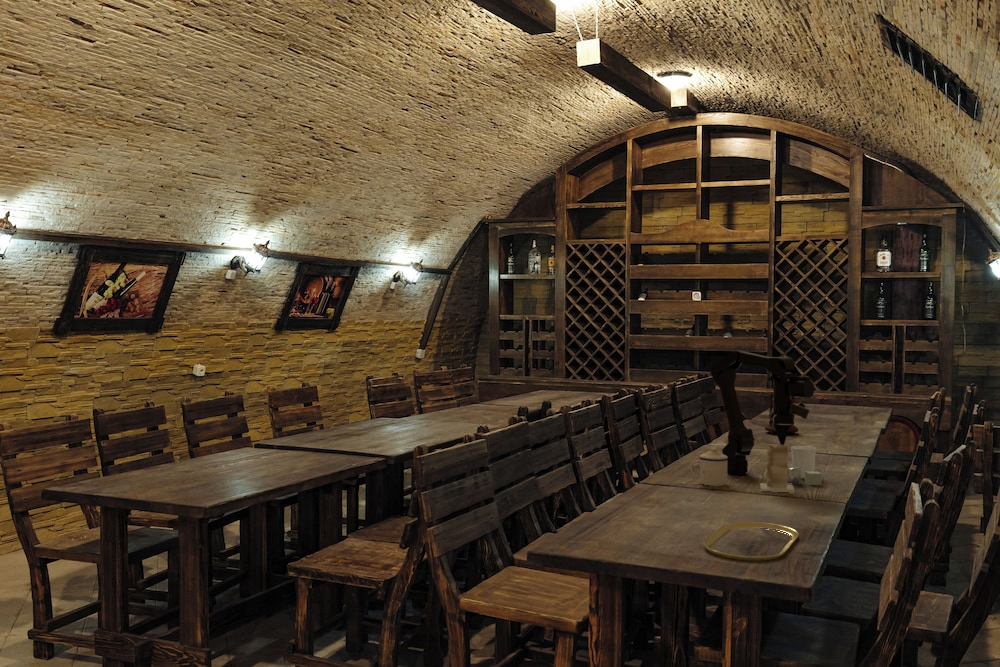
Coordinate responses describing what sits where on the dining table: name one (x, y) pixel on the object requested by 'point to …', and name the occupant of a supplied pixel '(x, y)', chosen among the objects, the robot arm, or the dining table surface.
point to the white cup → (803, 458)
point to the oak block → (777, 466)
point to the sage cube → (813, 477)
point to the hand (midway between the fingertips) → (781, 442)
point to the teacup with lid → (712, 468)
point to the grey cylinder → (793, 475)
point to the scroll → (771, 427)
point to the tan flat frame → (739, 525)
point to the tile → (768, 488)
